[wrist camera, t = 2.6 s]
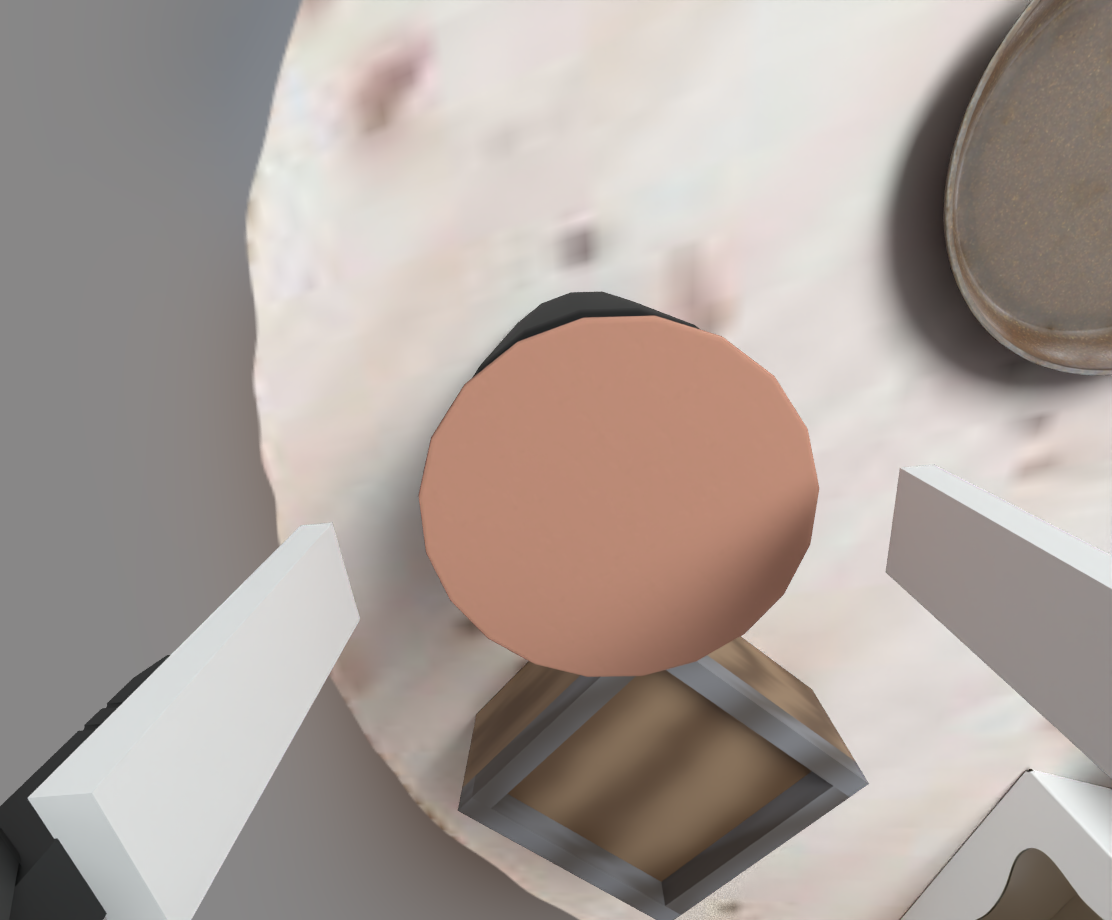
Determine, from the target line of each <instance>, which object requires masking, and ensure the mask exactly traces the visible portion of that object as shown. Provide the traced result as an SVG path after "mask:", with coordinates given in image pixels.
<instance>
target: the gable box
mask: <svg viewBox="0 0 1112 920" xmlns="http://www.w3.org/2000/svg"><path fill="white" fill-rule="evenodd" d="M1029 771H1030V772H1028V771H1027V770H1026V771H1025V772H1024V773H1023V775H1022V776H1021V777H1020V778H1019V779H1018V781H1017V782H1016V783H1015V784H1014V785H1013V786H1012V788H1011V789H1010V790H1009V791H1008V792H1007V794H1006V795H1005V796H1004V797H1003V798H1002V800H1001V801H1000V802H999V803H998V804H997V805H996V807H995V808H994V809H993V810H992V811H991V813H990V814H989V815H988V816H987V817H986V819H985V820H984V821H983V822H982V823H981V824H980V826H979V827H978V828H977V829H976V830H975V832H974V833H973V834H972V835H971V836H970V838H969V839H968V840H967V841H966V842H965V843H964V845H963V846H962V847H961V848H960V849H959V851H958V852H957V853H956V854H955V855H954V857H953V858H952V859H951V860H950V861H949V862H948V864H947V865H946V866H945V867H944V868H943V870H942V871H941V872H940V873H939V874H938V876H937V877H936V878H935V879H934V880H933V881H932V883H931V884H930V885H929V886H928V887H927V889H926V890H925V891H924V892H923V893H922V895H921V896H920V897H919V898H918V899H917V900H916V902H915V903H914V904H913V905H912V906H911V908H910V909H909V910H908V911H907V912H906V914H905V915H904V916H903V917H902V918H901V919H900V920H1112V789H1110V788H1106V787H1102V786H1098V785H1094V784H1090V783H1086V782H1082V781H1078V780H1074V779H1069V778H1065V777H1061V776H1057V775H1053V774H1049V773H1045V772H1041V771H1037V770H1033V769H1029Z"/></svg>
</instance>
